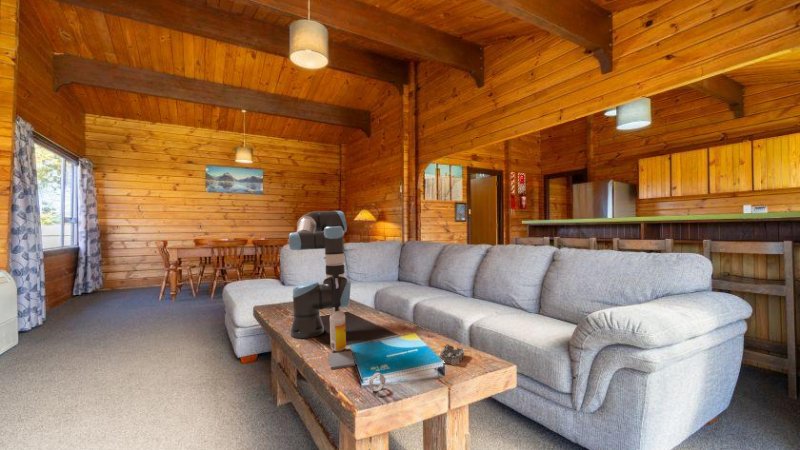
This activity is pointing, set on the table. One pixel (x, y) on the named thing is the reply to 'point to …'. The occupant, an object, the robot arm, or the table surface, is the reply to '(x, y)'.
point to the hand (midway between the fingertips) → (337, 322)
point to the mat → (341, 359)
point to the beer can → (337, 331)
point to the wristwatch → (382, 381)
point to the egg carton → (452, 354)
